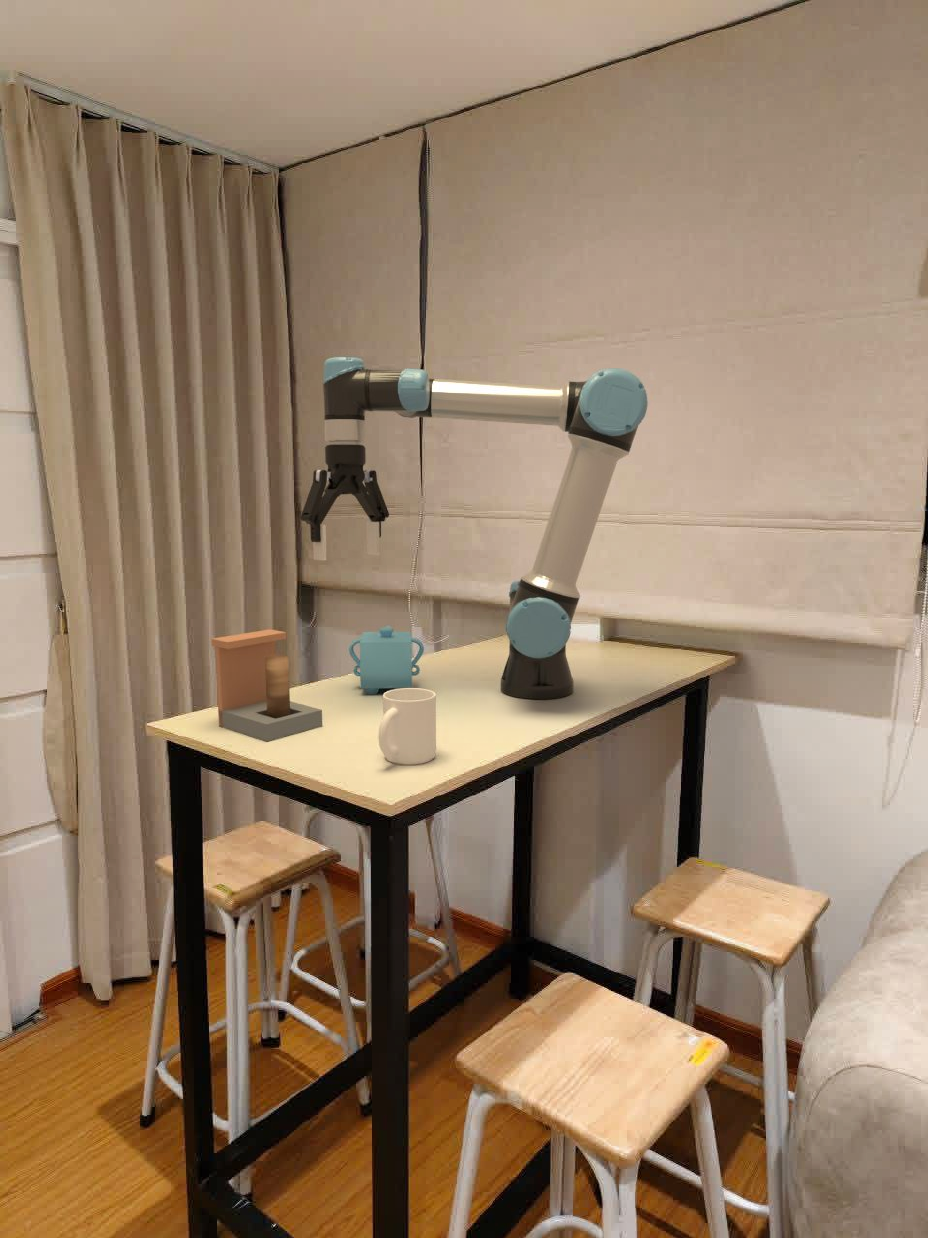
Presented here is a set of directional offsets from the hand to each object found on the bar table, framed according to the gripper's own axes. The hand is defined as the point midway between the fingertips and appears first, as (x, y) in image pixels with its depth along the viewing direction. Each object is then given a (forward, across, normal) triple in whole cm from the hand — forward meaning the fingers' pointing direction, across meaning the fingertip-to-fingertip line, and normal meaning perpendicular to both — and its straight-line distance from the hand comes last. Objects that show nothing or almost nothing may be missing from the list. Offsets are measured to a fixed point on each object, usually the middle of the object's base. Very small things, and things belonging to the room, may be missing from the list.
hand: (347, 557), depth 163 cm
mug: (+29, +18, +32) cm, 47 cm away
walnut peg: (+29, +20, +3) cm, 35 cm away
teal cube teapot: (+29, -15, -5) cm, 33 cm away
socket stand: (+29, +20, +1) cm, 35 cm away
